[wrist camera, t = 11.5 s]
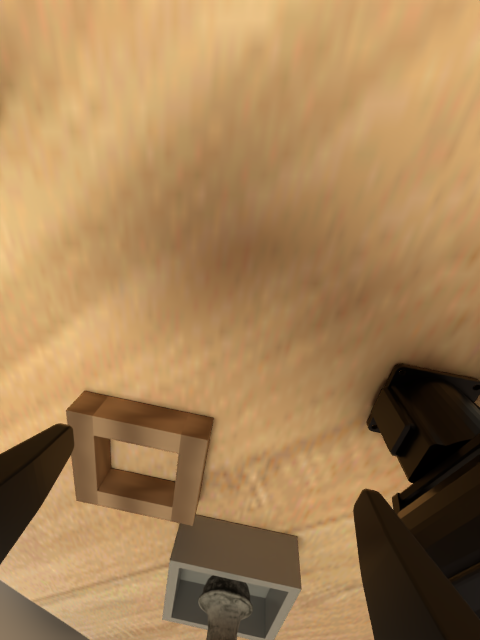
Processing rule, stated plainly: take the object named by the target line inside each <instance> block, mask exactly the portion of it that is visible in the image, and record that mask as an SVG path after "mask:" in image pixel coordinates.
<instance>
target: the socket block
mask: <svg viewBox="0 0 480 640" xmlns="http://www.w3.org/2000/svg"><path fill="white" fill-rule="evenodd" d="M66 415H67V423H68V425H70V426H72V428H73V434H74V443H75V444H74V449H73V452H72V454H71V458H72V466H73V475H74V483H75V492H76V501H80V502H85V503H90V504H94V505H99V506H103V507H108V508H113V509H117V510H122V511H126V512H131V513H135V514H140V515H145V516H149V517H154V518H158V519H163V520H168V521H172V522H177V523H181V524H186V525H190V526H193V523H194V519H195V515H196V510H197V506H198V502H199V497H200V491H201V485H202V480H203V474H204V469H205V463H206V457H207V452H208V446H209V441H210V435H211V429H212V424H213V418H211V417H206V416H201V415H196V414H192V413H187V412H182V411H177V410H173V409H168V408H163V407H158V406H154V405H149V404H144V403H139V402H134V401H130V400H125V399H120V398H115V397H111V396H106V395H101V394H96V393H92V392H87V391H84V392H83V393H82V394H81V395H80V396H79V397H78V398H77V399H76V400H75V401H74V402H73V404H72V405H71V406H70V407H69V408H68V409H67V410H66ZM110 439H112V440H117V441H122V442H127V443H131V444H136V445H141V446H145V447H150V448H155V449H159V450H164V451H169V452H173V453H178V454H179V456H178V464H177V473H176V482H173V481H168V480H164V479H159V478H154V477H150V476H145V475H140V474H136V473H131V472H126V471H122V470H117V469H112V468H111V458H110Z"/></svg>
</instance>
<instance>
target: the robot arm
mask: <svg viewBox="0 0 480 640" xmlns="http://www.w3.org/2000/svg"><path fill="white" fill-rule="evenodd" d="M400 370H403V371H402V372H399V371H400ZM475 385H476V386H475ZM473 386H474V387H473ZM479 395H480V381H479V380H478V379H474V378H469V377H464V376H460V375H455V374H450V373H445V372H440V371H435V370H430V369H425V368H420V367H415V366H410V365H406V364H398V365H396V366H395V367H394V369H393V371H392V373H391V375H390V377H389V379H388V381H387V383H386V385H385V387H384V388H383V389H382V390H381V392H380V394H379V396H378V398H377V400H376V402H375V405H374V407H373V409H372V411H371V415H370V417H369V419H368V421H367V426H368V428H369V430H370V431H373V432H378V433H381V435H382V437H383V439H384V441H385V443H386V445H387V447H388V449H389V451H390V453H391V454H392V455H393V456H397V458H398V460H399V462H400V464H401V466H402V468H403V470H404V472H405V474H406V477H407V479H408V481H409V482H411V483H413V484H412V485H410V486H409V487H408V488H407V489H405V490H404V491H403V492H401V493H397V494H396V495H394V496H393V497H392V503H393V509H392V508H391V506H390V505H389V504H388V503H387V501H386V500H385V499H384V498H383V496H382V495H381V494H380V493H379V492H377V491H374V490H369V489H364V490H362V492H361V494H360V496H359V497H358V499H357V501H356V503H355V505H354V510H353V513H354V522H355V530H356V538H357V547H358V555H359V563H360V570H361V577H362V582H363V587H364V592H365V597H366V601H367V606H368V611H369V616H370V620H371V625H372V630H373V635H374V639H375V640H480V407H479V406H478V405H477V404H476V403H475V400H476V399H477V398H478V396H479ZM372 425H374V426H372ZM74 444H75V443H74V434H73V428H72V426H70V425H66V424H61V423H59V424H55V425H53V426H52V427H50V428H48V429H46V430H44V431H42V432H40V433H39V434H37V435H35V436H33V437H31V438H29V439H27V440H26V441H24V442H22V443H20V444H18V445H16V446H14V447H13V448H11V449H9V450H7V451H5V452H3V453H1V454H0V564H1V563H2V561H3V560H4V558H5V557H6V556H7V554H8V553H9V551H10V550H11V548H12V547H13V546H14V544H15V543H16V541H17V540H18V538H19V537H20V536H21V534H22V533H23V531H24V530H25V528H26V527H27V526H28V524H29V523H30V521H31V520H32V518H33V517H34V516H35V514H36V513H37V511H38V510H39V508H40V507H41V505H42V504H43V502H44V500H45V499H46V497H47V495H48V494H49V492H50V490H51V488H52V487H53V485H54V483H55V481H56V480H57V478H58V476H59V475H60V473H61V471H62V469H63V468H64V466H65V464H66V462H67V461H68V459H69V457H70V455H71V454H72V452H73V449H74Z"/></svg>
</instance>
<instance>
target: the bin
mask: <svg viewBox="0 0 480 640" xmlns="http://www.w3.org/2000/svg"><path fill="white" fill-rule="evenodd" d="M212 575H214V576H219V577H223V578H228V579H232V580H237V581H241V582H246V584H247V585H248V588H249V593H250V602H251V604H252V606H253V611H252V613H251V615H250V616H249V617H247V618H245V619H242V620H241V621H240V624H239V628H238V632H237V637H242V638H246V639H251V640H274V639H275V637H276V635H277V634H278V632H279V630H280V628H281V626H282V624H283V623H284V621H285V619H286V617H287V615H288V613H289V611H290V610H291V608H292V606H293V604H294V602H295V600H296V599H297V597H298V595H299V593H300V591H301V576H300V564H299V552H298V540H297V537H296V536H291V535H287V534H282V533H277V532H273V531H268V530H264V529H259V528H254V527H250V526H245V525H241V524H236V523H231V522H227V521H222V520H218V519H213V518H208V517H204V516H199V515H195V519H194V523H193V526H190V525H186V524H181V523H180V525H179V529H178V532H177V536H176V540H175V543H174V547H173V550H172V554H171V558H170V563H169V571H168V578H167V586H166V594H165V602H164V610H163V618H162V620H166V621H171V622H175V623H180V624H184V625H188V626H193V627H197V628H202V629H206V630H208V615H207V613H205V612H204V611H203V610H202V609H201V608H200V606H199V603H198V599H199V596H200V595H201V594H202V593H203V589H204V586H205V584H206V582H207V580H208V579H209V578H210V577H211V576H212Z"/></svg>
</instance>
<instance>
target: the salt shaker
mask: <svg viewBox="0 0 480 640" xmlns="http://www.w3.org/2000/svg"><path fill="white" fill-rule="evenodd" d="M198 603H199V606H200V608H201V609H202V610H203V611H204V612H205V613H207V615H208V632H207V639H206V640H237V632H238V628H239V624H240V621H241V620H242V619H245V618H247V617H249V616H250V615H251V613H252V611H253V606H252V604H251V602H250V593H249V588H248V585H247V584H246V582H241V581H237V580H232V579H228V578H223V577H219V576H214V575H212V576H211V577H210V578H209V579H208V580H207V582H206V584H205V586H204V589H203V593H202V594H201V595H200V596H199V599H198Z"/></svg>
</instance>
